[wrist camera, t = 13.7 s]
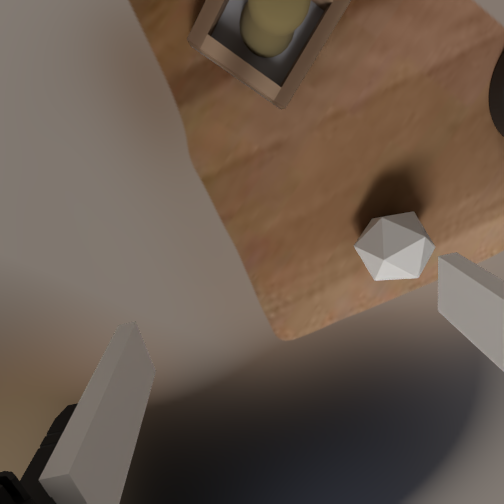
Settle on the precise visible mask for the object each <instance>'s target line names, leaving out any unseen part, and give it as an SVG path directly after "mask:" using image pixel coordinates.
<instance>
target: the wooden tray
mask: <svg viewBox="0 0 504 504" xmlns="http://www.w3.org/2000/svg"><path fill="white" fill-rule="evenodd" d="M247 1H248V0H206V1H205V3H204V5H203V7H202V9H201V11H200V13H199V15H198V17H197V19H196V21H195V23H194V26H193V28H192V30H191V32H190V34H189V36H188V38H187V40H188V42H189V44H190V46H191V47H193V48H194V49H196V50H197V51H198V52H200V53H201V54H203V55H204V56H206V57H207V58H208V59H210V60H211V61H213V62H214V63H216V64H217V65H218V66H220V67H221V68H223V69H224V70H226V71H227V72H228V73H230V74H231V75H233V76H234V77H236V78H237V79H238V80H240V81H241V82H243V83H244V84H245V85H247V86H248V87H250V88H251V89H253V90H254V91H255V92H257V93H258V94H260V95H261V96H263V97H264V98H265V99H267V100H268V101H270V102H271V103H273V104H274V105H275V106H277V107H278V108H280V109H285V108H286V107H287V105H288V103H289V102H290V100H291V98H292V97H293V95H294V93H295V92H296V90H297V89H298V87H299V85H300V84H301V82H302V80H303V79H304V77H305V75H306V74H307V72H308V70H309V69H310V67H311V66H312V64H313V62H314V61H315V59H316V57H317V56H318V54H319V52H320V51H321V49H322V47H323V46H324V44H325V43H326V41H327V39H328V38H329V36H330V34H331V33H332V31H333V29H334V28H335V26H336V24H337V23H338V21H339V20H340V18H341V16H342V15H343V13H344V11H345V10H346V8H347V6H348V5H349V3H350V1H351V0H311V3H310V7H309V11H308V14H307V16H306V17H305V19H304V21H303V23H302V24H301V25H300V26H299V27H298V28H297V29H296V30H295V31H294V35H293V39H292V41H291V42H290V44H289V46H288V48H286V49H285V50H284V51H283V52H282V53H281V54H279V55H277V56H275V57H269V58H264V57H260V56H257V55H255V54H254V53H252V52H251V51H250V50H249V49H248V48H247V47H246V45H245V44H244V42H243V40H242V37H241V34H240V25H239V22H240V17H241V12H242V10H243V8H244V6H245V4H246V3H247Z"/></svg>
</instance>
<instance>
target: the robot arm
mask: <svg viewBox="0 0 504 504" xmlns="http://www.w3.org/2000/svg"><path fill="white" fill-rule="evenodd" d="M489 106H490V113H491V117H492V120H493V122H494V124H495V126H496V128H497V130H498V131H499V132H500V134H501V135H502V136H503V137H504V52H503V54H502V56H501V57H500V59H499V61H498V64H497V66H496V68H495V71H494V74H493V77H492V81H491V86H490V93H489ZM438 311H439V312H440V313H441V314H442V315H443V316H444V317H445V318H446V319H447V320H448V321H449V322H451V323H452V324H453V325H454V326H455V327H456V328H457V329H458V330H459V331H460V332H461V333H462V334H463V335H465V336H466V337H467V338H468V339H469V340H470V341H471V342H472V343H473V344H474V345H475V346H476V347H477V348H479V349H480V350H481V351H482V352H483V353H484V354H485V355H486V356H487V357H488V358H489V359H490V360H492V361H493V362H494V363H495V364H496V365H497V366H498V367H499V368H500V369H501V370H502V371H503V372H504V281H503V280H502V279H500V278H498V277H497V276H495V275H493V274H492V273H490V272H488V271H486V270H485V269H483V268H482V267H480V266H478V265H477V264H475V263H473V262H472V261H470V260H468V259H467V258H465V257H463V256H462V255H460V254H458V253H457V252H456V253H451V254H446V255H442V256H438ZM155 372H156V370H155V368H154V365H153V363H152V360H151V358H150V355H149V353H148V350H147V348H146V345H145V343H144V340H143V338H142V335H141V333H140V330H139V328H138V326H137V323H136V322H131V323H126V324H122V325H118V327H117V329H116V331H115V333H114V335H113V337H112V339H111V341H110V343H109V345H108V347H107V348H106V350H105V353H104V354H103V356H102V358H101V360H100V362H99V364H98V366H97V368H96V370H95V372H94V374H93V375H92V377H91V379H90V381H89V383H88V385H87V387H86V389H85V391H84V393H83V395H82V397H81V399H80V401H79V403H77V404H73V405H68V406H67V407H66V408H65V409H64V410H63V411H62V412H61V413H60V415H58V417H57V418H56V419H55V420H54V422H53V424H52V425H51V427H50V429H49V431H48V432H47V436H46V437H45V438H44V440H43V441H42V443H41V445H40V448H39V449H38V450H37V452H36V454H35V455H34V457H33V459H32V461H31V462H30V464H29V466H28V468H27V469H26V471H25V473H24V475H23V477H22V478H21V480H20V481H19V480H18V478H17V477H16V476H15V475H14V474H13V472H8V471H3V472H0V504H119V502H120V498H121V495H122V491H123V488H124V484H125V480H126V476H127V473H128V469H129V466H130V462H131V458H132V455H133V452H134V448H135V444H136V441H137V437H138V433H139V430H140V426H141V423H142V419H143V415H144V412H145V408H146V405H147V401H148V397H149V394H150V390H151V387H152V383H153V380H154V376H155Z"/></svg>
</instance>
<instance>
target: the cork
mask: <svg viewBox="0 0 504 504" xmlns="http://www.w3.org/2000/svg"><path fill="white" fill-rule="evenodd" d="M310 3H311V0H248V1H247V3H246V4H245V6H244V8H243V10H242V12H241V17H240V22H239V25H240V34H241V37H242V40H243V42H244V44H245V45H246V47H247V48H248V49H249V50H250V51H251V52H252V53H254V54H255V55H257V56H260V57H264V58H269V57H275V56H277V55H279V54H281V53H282V52H283V51H284V50H285V49H286V48H288V46H289V44H290V42H291V41H292V39H293V35H294V31H295V30H296V29H297V28H298V27H299V26H300V25H301V24H302V23H303V21H304V19H305V17H306V16H307V14H308V11H309V7H310Z"/></svg>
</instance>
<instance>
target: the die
mask: <svg viewBox="0 0 504 504" xmlns="http://www.w3.org/2000/svg"><path fill="white" fill-rule="evenodd" d="M354 247H355V249H356V251H357V252H358V254H359V256H360V257H361V259H362V260H363V262H364V264H365V265H366V267H367V269H368V270H369V272H370V274H371V275H372V277H373V279H374V280H375V281H376V280H393V279H410V278H419V276H420V274H421V272H422V271H423V269H424V267H425V265H426V263H427V261H428V260H429V258H430V256H431V254H432V252H433V250H434V249H435V246H434V244H433V242H432V241H431V239H430V237H429V236H428V234H427V232H426V231H425V229H424V227H423V226H422V224H421V222H420V221H419V219H418V217H417V216H416V214H415V212H414V211H413V212H407V213H401V214H395V215H389V216H384V217H378V218H372V220H371V221H370V222H369V224H368V225H367V227H366V228H365V230H364V231H363V233H362V234H361V236H360V237H359V239H358V240H357V242H356V243H355V245H354Z"/></svg>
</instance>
